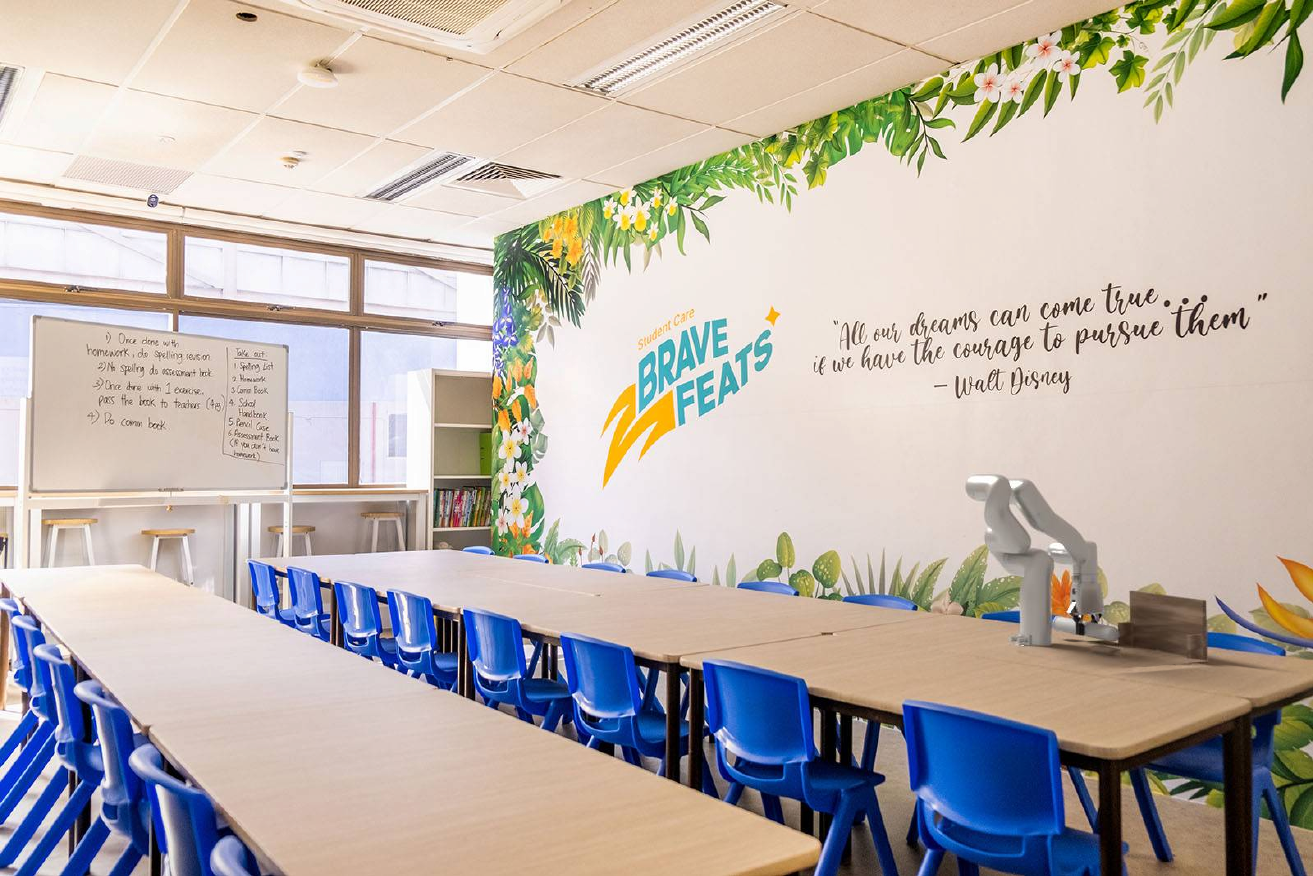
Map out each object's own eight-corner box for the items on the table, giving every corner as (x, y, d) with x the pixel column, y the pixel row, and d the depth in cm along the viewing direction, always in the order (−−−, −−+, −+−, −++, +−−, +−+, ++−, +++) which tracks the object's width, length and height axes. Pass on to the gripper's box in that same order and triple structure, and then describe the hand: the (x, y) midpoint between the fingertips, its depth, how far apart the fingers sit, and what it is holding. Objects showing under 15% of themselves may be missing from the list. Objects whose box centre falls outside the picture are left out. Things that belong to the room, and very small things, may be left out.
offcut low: (1110, 664, 297) (1110, 657, 297) (1085, 658, 307) (1085, 651, 307) (1123, 663, 299) (1123, 656, 299) (1099, 657, 308) (1099, 651, 308)
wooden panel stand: (1190, 663, 296) (1189, 601, 296) (1118, 647, 322) (1117, 591, 323) (1207, 661, 298) (1206, 600, 299) (1134, 646, 324) (1133, 590, 325)
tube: (1125, 628, 319) (1065, 617, 342) (1113, 624, 317) (1054, 613, 341) (1121, 645, 318) (1062, 633, 342) (1109, 641, 317) (1050, 629, 340)
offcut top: (1109, 656, 298) (1109, 650, 299) (1090, 652, 306) (1089, 645, 306) (1120, 656, 300) (1120, 649, 300) (1100, 651, 307) (1100, 645, 307)
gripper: (1072, 581, 324) (1074, 638, 323) (1114, 578, 329) (1116, 634, 329) (1056, 579, 331) (1057, 634, 330) (1097, 576, 336) (1099, 631, 336)
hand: (1087, 634), depth 329 cm, fingers closed on tube, 4 cm apart
